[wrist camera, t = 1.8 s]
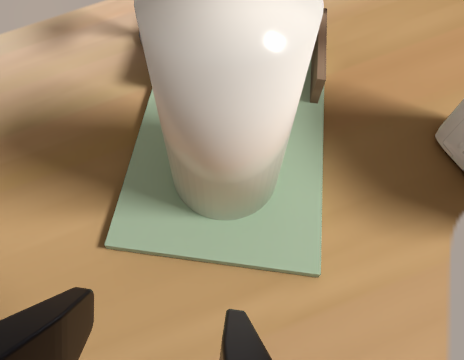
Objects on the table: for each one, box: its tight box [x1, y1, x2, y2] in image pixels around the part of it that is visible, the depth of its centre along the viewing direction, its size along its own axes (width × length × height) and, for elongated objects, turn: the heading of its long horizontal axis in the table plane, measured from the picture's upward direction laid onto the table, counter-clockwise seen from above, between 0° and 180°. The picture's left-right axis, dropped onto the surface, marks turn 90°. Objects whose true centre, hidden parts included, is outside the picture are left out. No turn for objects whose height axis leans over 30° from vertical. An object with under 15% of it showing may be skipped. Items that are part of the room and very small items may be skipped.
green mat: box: [104, 56, 324, 277], centre depth 28 cm, size 21×13×1 cm, turn 172°
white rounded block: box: [134, 0, 324, 221], centre depth 20 cm, size 7×7×13 cm
